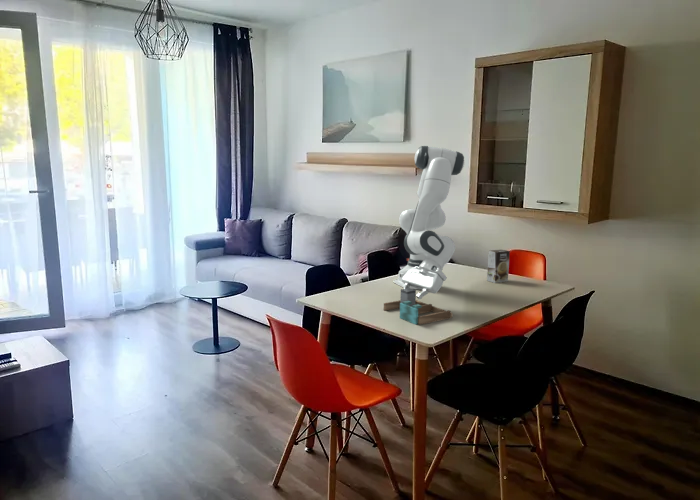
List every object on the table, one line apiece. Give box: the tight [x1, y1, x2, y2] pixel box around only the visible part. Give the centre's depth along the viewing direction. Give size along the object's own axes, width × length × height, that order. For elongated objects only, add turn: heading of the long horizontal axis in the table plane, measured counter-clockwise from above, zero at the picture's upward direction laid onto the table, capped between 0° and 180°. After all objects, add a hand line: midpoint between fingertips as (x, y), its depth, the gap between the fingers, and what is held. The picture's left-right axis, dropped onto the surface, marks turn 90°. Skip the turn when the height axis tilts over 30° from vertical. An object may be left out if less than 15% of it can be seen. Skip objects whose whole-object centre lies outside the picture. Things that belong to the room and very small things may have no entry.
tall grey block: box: [400, 288, 417, 307], centre depth 216 cm, size 4×4×9 cm
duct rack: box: [383, 299, 453, 326], centre depth 211 cm, size 23×18×7 cm
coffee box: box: [486, 249, 511, 284], centre depth 269 cm, size 9×6×16 cm
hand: (410, 295), depth 216 cm, fingers open, 8 cm apart
